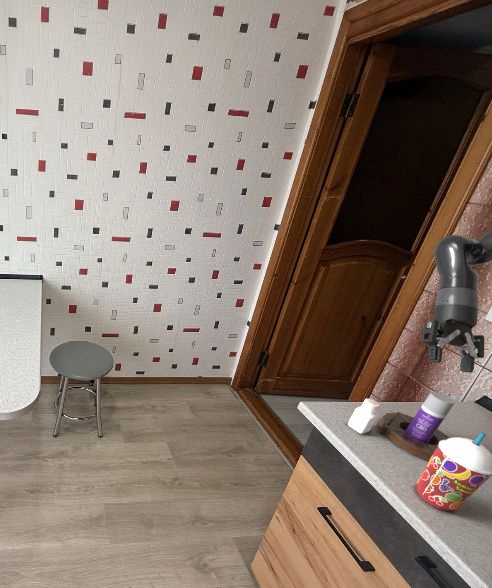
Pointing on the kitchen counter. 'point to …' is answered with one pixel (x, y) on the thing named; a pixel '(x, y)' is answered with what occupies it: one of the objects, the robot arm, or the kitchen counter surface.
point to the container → (430, 417)
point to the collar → (393, 431)
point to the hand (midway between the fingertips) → (450, 367)
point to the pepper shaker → (364, 416)
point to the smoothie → (455, 472)
